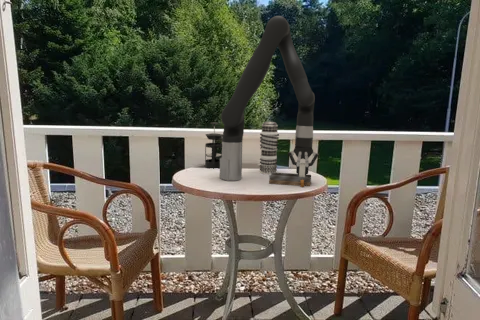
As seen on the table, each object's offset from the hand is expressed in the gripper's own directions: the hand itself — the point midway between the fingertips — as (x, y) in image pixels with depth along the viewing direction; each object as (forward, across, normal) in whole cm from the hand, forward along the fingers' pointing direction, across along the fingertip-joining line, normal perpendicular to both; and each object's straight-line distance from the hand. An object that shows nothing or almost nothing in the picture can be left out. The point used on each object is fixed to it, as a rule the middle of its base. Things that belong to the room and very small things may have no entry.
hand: (302, 174), depth 186 cm
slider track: (+4, +5, 0) cm, 7 cm away
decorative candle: (+4, +17, -18) cm, 25 cm away
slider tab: (+2, 0, 0) cm, 2 cm away
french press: (+4, +46, -23) cm, 52 cm away
